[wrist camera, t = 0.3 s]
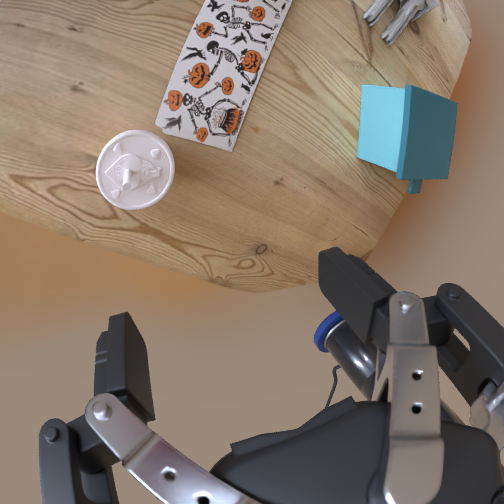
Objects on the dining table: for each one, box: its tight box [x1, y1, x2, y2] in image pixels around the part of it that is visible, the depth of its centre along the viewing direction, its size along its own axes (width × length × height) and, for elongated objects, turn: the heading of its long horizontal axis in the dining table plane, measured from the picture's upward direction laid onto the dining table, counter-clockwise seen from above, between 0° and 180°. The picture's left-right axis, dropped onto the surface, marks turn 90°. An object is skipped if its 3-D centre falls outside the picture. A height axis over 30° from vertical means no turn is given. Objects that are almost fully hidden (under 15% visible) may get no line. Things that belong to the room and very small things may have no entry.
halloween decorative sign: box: [155, 0, 293, 152], centre depth 25 cm, size 24×1×9 cm
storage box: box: [357, 85, 457, 194], centre depth 35 cm, size 15×12×9 cm
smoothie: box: [96, 130, 175, 210], centre depth 22 cm, size 6×6×14 cm
